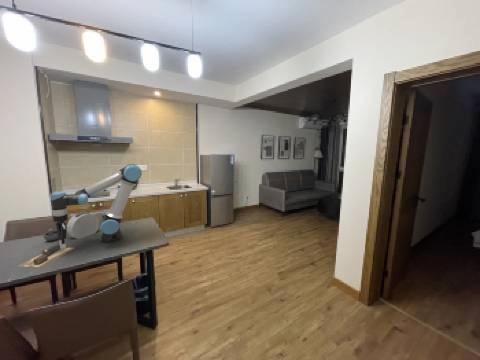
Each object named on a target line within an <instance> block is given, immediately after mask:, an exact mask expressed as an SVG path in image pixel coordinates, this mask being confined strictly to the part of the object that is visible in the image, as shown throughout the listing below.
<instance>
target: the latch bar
mask: <svg viewBox="0 0 480 360" xmlns="http://www.w3.org/2000/svg"><path fill="white" fill-rule="evenodd" d="M60 249H61V248H60V242H58V243H56V244H53V245H52V246H50V247H48V248H46V249H44V250H41V254H42V255H47V256H50V255H51V254H52V253H54V252H56V251H58V250H60Z"/></svg>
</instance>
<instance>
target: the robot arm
mask: <svg viewBox="0 0 480 360" xmlns="http://www.w3.org/2000/svg"><path fill="white" fill-rule="evenodd" d="M142 175H143V172H142V170H141V168H140V166H138V165H137V164H135V163H130V164H127V165H125V166H124V167H122V168H121V169H119V170H118V171H117V172H116V173H114V174H110V175H109V176H107V177H105V178H103V179H101V180H99V181H96V182H95V183H92V184H90V185H89V186H87V187H84V188H82V189H79V190H77V191H76V192H75V193H72V194H66V192H65V191H56V192H55V191H54V192H52V193H51V194H50V198H51V199H50V201H51V212H52V213H51V214H52V222H54V223H55V228H56V231H57V234H58V237H59V238H58V240H59V243H60V248H61V249H62V248H67V246H66V239H67V230H66V229H67V224H66V222H65V221H68V220H69V218H68V210H69V209H68V206H69V207H70V206H83V205H88V203H89V198H91V197H92V196H95V195H97V194H99V193H101V192H103V191H104V190H105V191H106V190H107V189H109V188H111V187H112V186H115V185H117V184H119V183H120V186H119V188H118V189H117V192H116V194H115V198H114V199H113V202H112V204H111V206H110V209H109V211H104V212H102V213H101V218H102V220H101V224H100V225H99V227H100V231H101V232H102V234H101V237H100V240H101V242H102V243H106V244H107V243H114V242H115V243H116V242H117V241H120V240H122V239H123V238H124V233H123V232H122V229H121V223H122V221H123V218H124V217H123V212H124V211H125V208H126V205H127V203H128V200H129V198H130V196H131V193H132V191H133V189H134V186H136V185H137V184H138V183H139V181H140V179H141V178H142Z"/></svg>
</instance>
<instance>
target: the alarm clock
mask: <svg viewBox="0 0 480 360" xmlns="http://www.w3.org/2000/svg"><path fill="white" fill-rule="evenodd" d="M68 220H69V221H68V222H67V224H66V226H67V229H66V234H67V235H68V236H69V237H70V238H72V239H76V240H81V239H84V238H87V237H89V236H92V235H94V234H96V233H97V231H99V227H100V221H99V218H98V217H97V216H96V215H95V214H93V213H90V212H87V211H84V212H79V213H77V214H74V215H73V216H71V218H70V219H68Z"/></svg>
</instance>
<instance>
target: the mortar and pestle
mask: <svg viewBox="0 0 480 360" xmlns="http://www.w3.org/2000/svg"><path fill="white" fill-rule="evenodd" d="M47 231H48V232H45V233H43V239H44V240H45V241H47V242H50V243H51V242H55V241H57V240H59V237H58V234H57V230H54V229H53V228H49V229H48V230H47Z"/></svg>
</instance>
